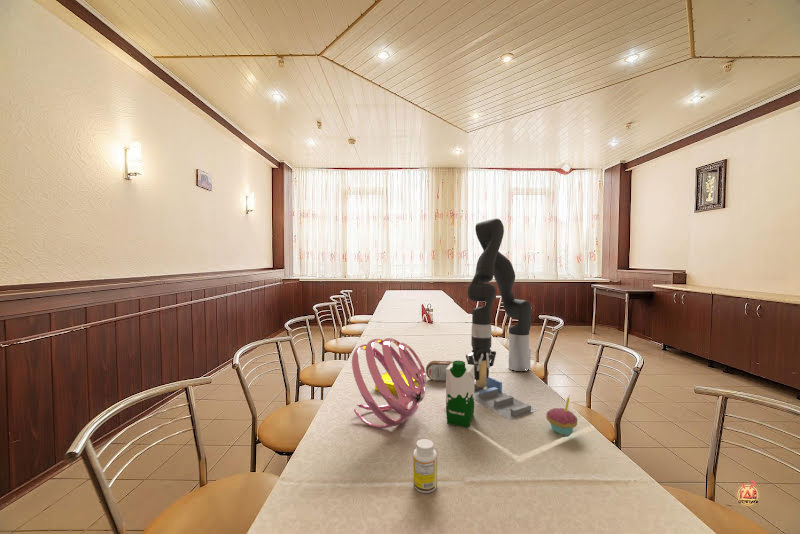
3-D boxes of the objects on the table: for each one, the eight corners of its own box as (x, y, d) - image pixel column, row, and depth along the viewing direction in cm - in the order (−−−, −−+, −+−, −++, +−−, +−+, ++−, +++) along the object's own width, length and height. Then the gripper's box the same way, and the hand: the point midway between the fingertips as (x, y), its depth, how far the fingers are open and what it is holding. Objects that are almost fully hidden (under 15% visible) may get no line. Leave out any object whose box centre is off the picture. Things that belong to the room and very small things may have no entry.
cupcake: (574, 428, 103) (575, 390, 102) (579, 443, 95) (580, 402, 94) (544, 424, 106) (545, 387, 105) (547, 437, 98) (547, 398, 97)
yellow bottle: (481, 382, 130) (481, 352, 130) (488, 386, 127) (488, 355, 127) (473, 384, 128) (473, 354, 128) (480, 388, 125) (480, 356, 125)
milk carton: (443, 424, 106) (443, 362, 105) (451, 412, 114) (451, 355, 113) (470, 430, 102) (470, 366, 101) (476, 417, 110) (476, 358, 110)
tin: (460, 380, 144) (460, 360, 143) (461, 382, 140) (461, 363, 140) (426, 378, 145) (425, 360, 145) (425, 381, 142) (425, 362, 142)
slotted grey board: (485, 386, 136) (485, 374, 136) (538, 412, 113) (538, 398, 113) (458, 393, 129) (458, 381, 129) (509, 422, 106) (509, 407, 106)
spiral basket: (311, 366, 103) (381, 320, 99) (353, 361, 129) (409, 324, 125) (349, 455, 94) (428, 409, 89) (385, 431, 119) (448, 394, 115)
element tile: (373, 391, 133) (373, 379, 132) (389, 378, 146) (389, 368, 146) (407, 397, 126) (407, 385, 126) (421, 384, 140) (421, 373, 140)
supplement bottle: (422, 474, 81) (422, 434, 81) (441, 484, 78) (441, 442, 77) (408, 487, 77) (408, 444, 77) (427, 498, 73) (427, 453, 73)
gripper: (488, 330, 134) (487, 372, 134) (460, 334, 127) (460, 378, 127) (502, 334, 127) (501, 378, 128) (473, 339, 120) (473, 385, 121)
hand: (481, 378), depth 128 cm, fingers closed on yellow bottle, 4 cm apart
